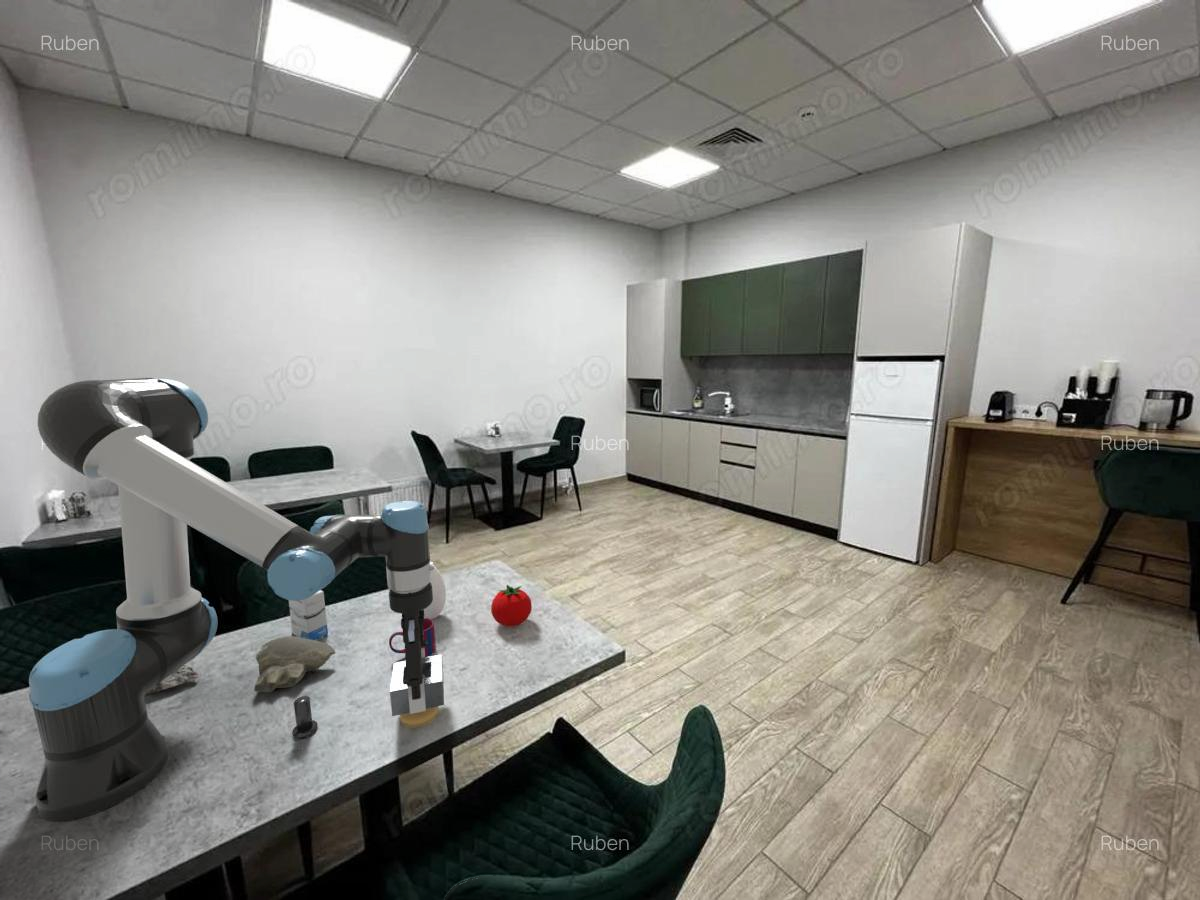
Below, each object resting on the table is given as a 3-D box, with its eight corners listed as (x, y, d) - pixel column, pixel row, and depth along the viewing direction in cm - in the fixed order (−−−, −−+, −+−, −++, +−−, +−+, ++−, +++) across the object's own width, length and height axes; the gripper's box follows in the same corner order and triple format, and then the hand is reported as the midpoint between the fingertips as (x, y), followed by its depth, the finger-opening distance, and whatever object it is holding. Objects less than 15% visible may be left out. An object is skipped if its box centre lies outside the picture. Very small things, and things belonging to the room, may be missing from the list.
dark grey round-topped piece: (289, 741, 88) (286, 710, 87) (295, 725, 92) (292, 695, 91) (315, 736, 89) (311, 705, 88) (319, 721, 93) (316, 691, 92)
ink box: (329, 634, 123) (324, 590, 121) (308, 643, 119) (303, 598, 116) (311, 624, 127) (306, 582, 125) (291, 633, 123) (285, 589, 121)
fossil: (270, 690, 107) (252, 701, 98) (261, 642, 109) (243, 649, 99) (341, 666, 112) (330, 675, 103) (331, 620, 113) (320, 625, 104)
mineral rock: (206, 678, 106) (203, 659, 105) (164, 702, 98) (161, 682, 97) (158, 666, 110) (155, 648, 109) (114, 688, 102) (111, 669, 102)
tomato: (512, 609, 135) (511, 575, 133) (540, 621, 129) (539, 586, 127) (483, 625, 127) (481, 590, 125) (511, 639, 121) (510, 601, 119)
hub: (399, 730, 90) (396, 694, 89) (401, 706, 97) (398, 672, 96) (438, 722, 93) (436, 686, 91) (438, 698, 99) (436, 665, 98)
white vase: (441, 625, 127) (437, 559, 124) (411, 624, 127) (406, 559, 124) (450, 610, 135) (447, 548, 132) (422, 609, 135) (418, 548, 132)
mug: (437, 655, 114) (435, 628, 113) (390, 666, 110) (388, 638, 108) (433, 640, 120) (432, 615, 119) (389, 650, 116) (387, 624, 114)
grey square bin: (392, 716, 89) (389, 691, 88) (395, 685, 97) (393, 663, 96) (444, 705, 91) (442, 681, 90) (443, 676, 100) (441, 654, 99)
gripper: (431, 609, 81) (439, 729, 85) (432, 560, 101) (438, 658, 105) (382, 617, 79) (393, 739, 83) (393, 565, 99) (401, 665, 103)
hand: (418, 694), depth 94 cm, fingers closed on grey square bin, 9 cm apart
